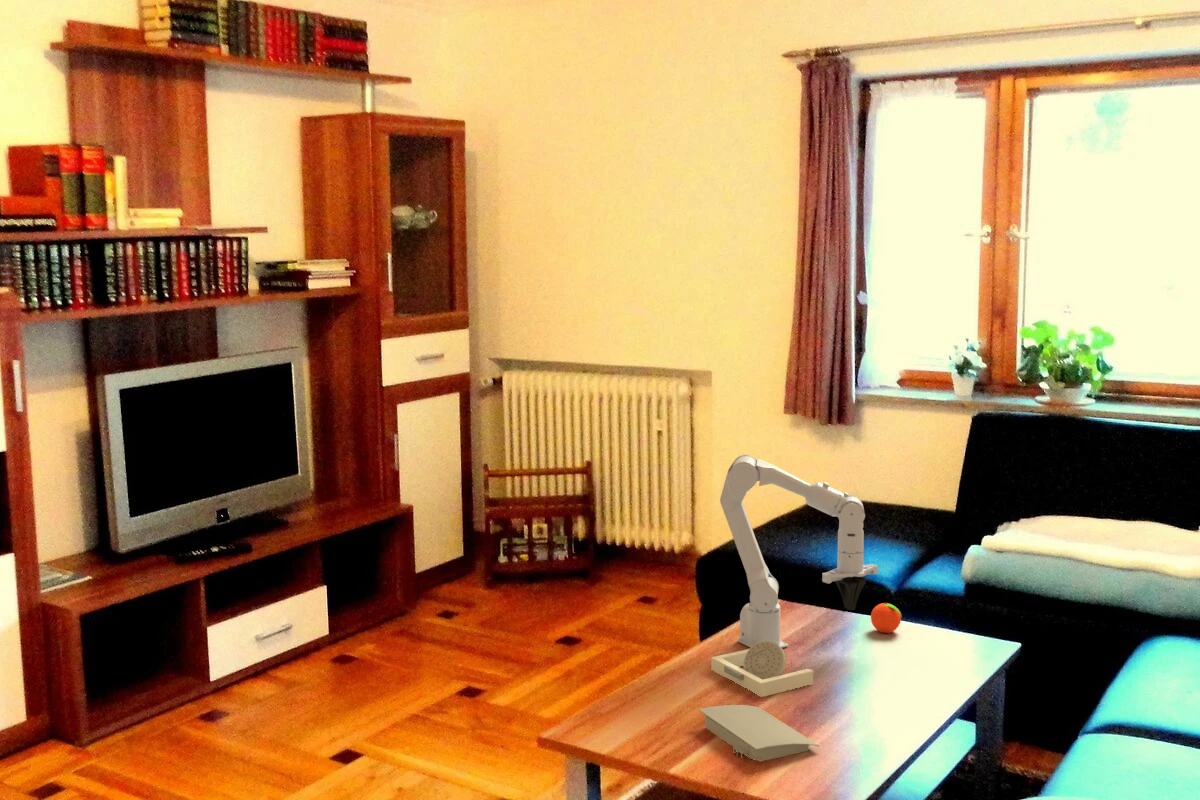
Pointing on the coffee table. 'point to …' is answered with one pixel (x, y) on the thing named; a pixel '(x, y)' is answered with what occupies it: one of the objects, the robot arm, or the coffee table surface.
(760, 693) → the dock
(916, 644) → the coffee table surface
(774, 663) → the showerhead
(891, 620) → the clementine
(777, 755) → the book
